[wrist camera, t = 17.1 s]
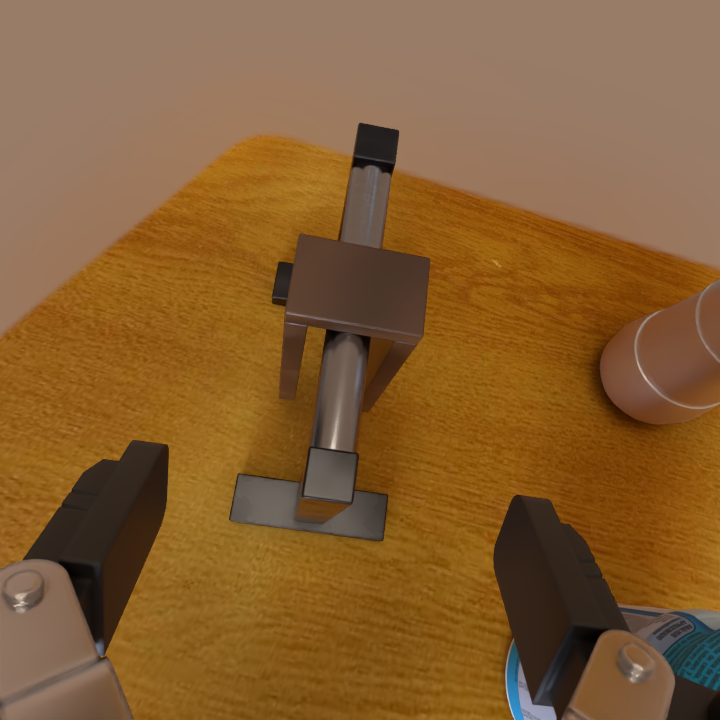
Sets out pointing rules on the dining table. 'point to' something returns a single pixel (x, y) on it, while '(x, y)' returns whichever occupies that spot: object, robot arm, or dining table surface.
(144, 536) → the robot arm
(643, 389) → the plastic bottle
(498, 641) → the dining table surface
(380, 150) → the rack
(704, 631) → the beverage bottle
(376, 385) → the two-legged arch bridge
